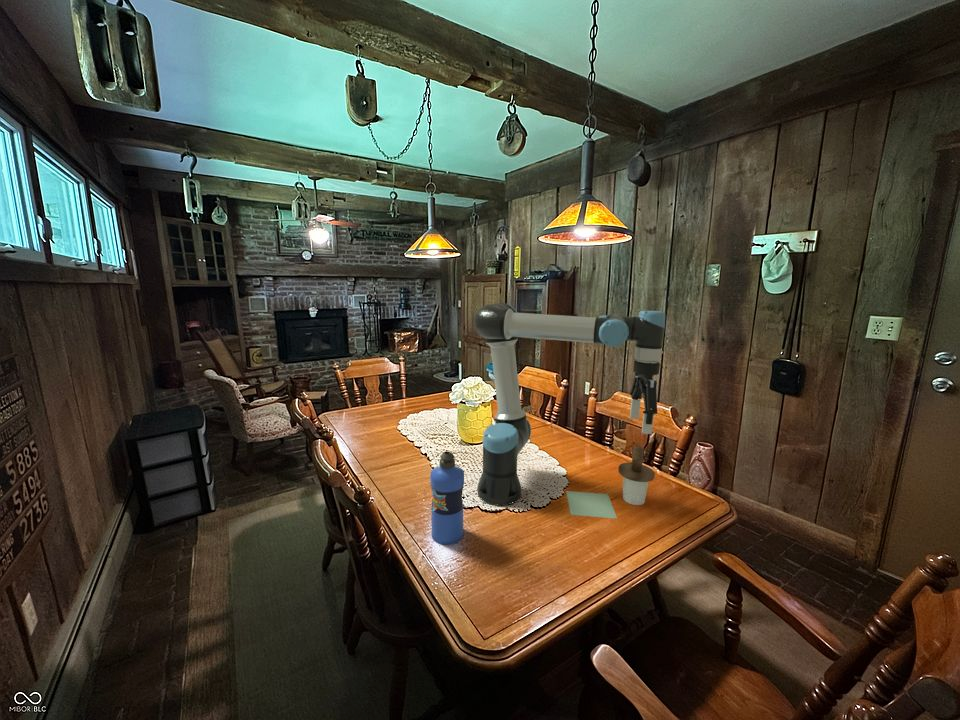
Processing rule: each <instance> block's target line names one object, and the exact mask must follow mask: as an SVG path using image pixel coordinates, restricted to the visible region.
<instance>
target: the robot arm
mask: <svg viewBox="0 0 960 720" xmlns="http://www.w3.org/2000/svg"><path fill="white" fill-rule="evenodd" d="M665 324H666V314H665V312H663V311H659V310H640V311H639V312H638V316H625V315H624V316H623V315H611V314H608V315H607V314H606V315H603V314H602V315H599V316H598V317H594V316H593V317H591V316H578V315H577V316H575V315H561V314H544V313H543V314H542V313H530V312H528V313H526V312H518V311H517V309H516V308H515V307H514V306H512V305H511V304H508V303H505V302H498V303H488V304H484V305H482V306H481V307H479V309H477V311H476V313H475V314H474V317H473V327H474V330H475V331H476V333H477V334H478V335H479V336H480V337H482V338H484V340H485V344H486V345H487V346H489V347H490V356H491V362H492V371H493V381H494V389H495V395H496V405H497V412H496V413H495V415H494V421H495V422H494V423H495V424H490V425H489V426H487V427H486V428H485V430H484V431H483V437H482V473H481V476H480V478H479V482H478V483H477V490H476V491H477V492H478V494H477V496H478V495H479V496H478V498H479V497H480V498H482V499H483V500H484V501H486V502H489V503H492V504H491V505H493V504H498V505H497V506H504V505H503V504H508V505H510V504H509V503H512V502H515V501H516V502H518V501H519V500H520V499H521V497H522V486H521V482H520V479H519V476H518V457H519V454H520V452H521V451H522V450H523V448H524V447H525V446H526V444H528V441H529V440H530V437H531V435H532V434H531V433H532V427H531V426H532V425H531V424H530V421H529V420H528V419H527V412H526V411H525V410H523V409H522V405H521V404H522V402H521V393H520V385H519V376H518V367H517V366H518V365H517V357H516V349H515V344H516V343H517V341H518V339H519V338H525V339H539V340H551V341H554V340H555V341H562V342H564V341H566V342H576V343H577V342H578V343H589V344H590V343H591V344H599V345H605V346H607V347H618V346H621V345H622V344H623V343H625V342H626V341H632V342H635V347H634V354H633V355H634V361H633V368H632V370H633V372H634V377H633V382H632V385H631V389H630V392H629V395H630V397H631V403H630V412H629V413H630V414H629V419H635V420H639V419H640V418H639V417H640V409H641V402H642V401H641V400H642V398H643V405H644V410H643V411H642V414H643V415H642V424H641V425H642V426H641V434H645V435H646V434H647V435H652V433H653V425H654V416H655V415H658V401H657V400H658V399H657V395H658V394H657V385H658V383H657V380H654V379H653V378H654V377H653V376H658V375H659V374H660V370H661V363H660V362H661V358H662V354H664V351H663V350H662V349H663V343H664V335H665V328H666V325H665ZM642 396H643V397H642ZM477 492H476V493H477ZM520 496H521V497H520ZM480 498H479V499H480ZM519 498H520V499H519ZM518 499H519V500H518ZM483 500H482V501H483ZM517 500H518V501H517ZM484 501H483V502H484ZM486 502H485V503H486ZM516 502H515V503H516ZM489 503H488V504H489ZM512 504H513V503H512Z"/></svg>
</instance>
